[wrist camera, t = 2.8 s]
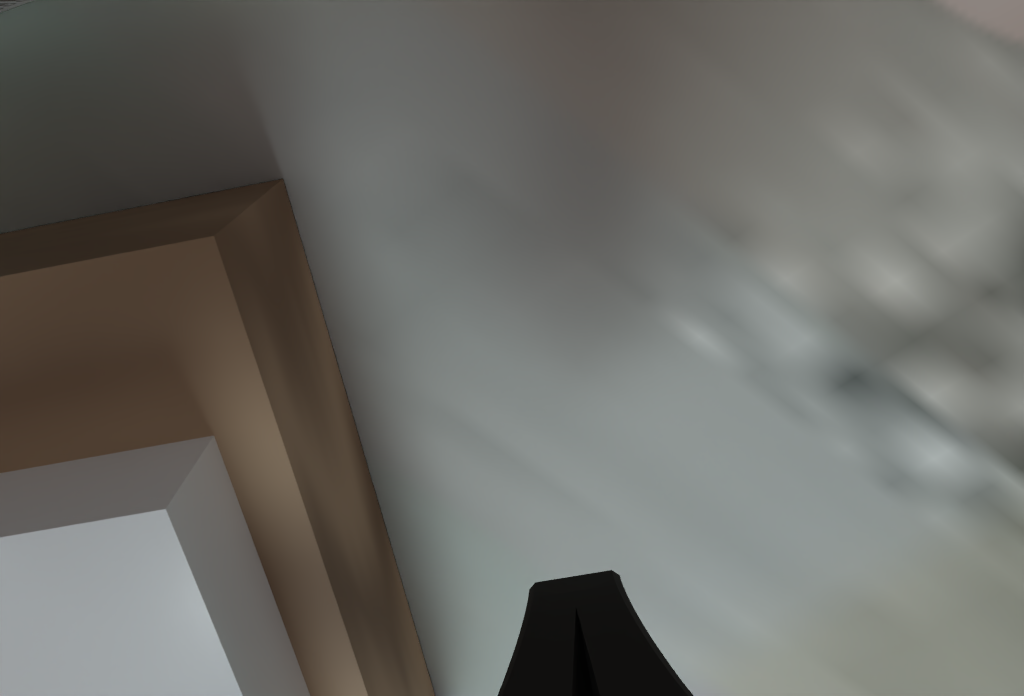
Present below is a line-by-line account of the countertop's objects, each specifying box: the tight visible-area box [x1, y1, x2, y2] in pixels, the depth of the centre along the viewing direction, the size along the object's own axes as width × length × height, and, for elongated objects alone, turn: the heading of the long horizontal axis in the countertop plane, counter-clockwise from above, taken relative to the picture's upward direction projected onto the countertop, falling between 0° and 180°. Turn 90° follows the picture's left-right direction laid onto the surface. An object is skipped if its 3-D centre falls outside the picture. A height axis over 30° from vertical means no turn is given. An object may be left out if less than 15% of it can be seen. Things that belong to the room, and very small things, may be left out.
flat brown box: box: [0, 179, 435, 696], centre depth 16 cm, size 14×12×4 cm
